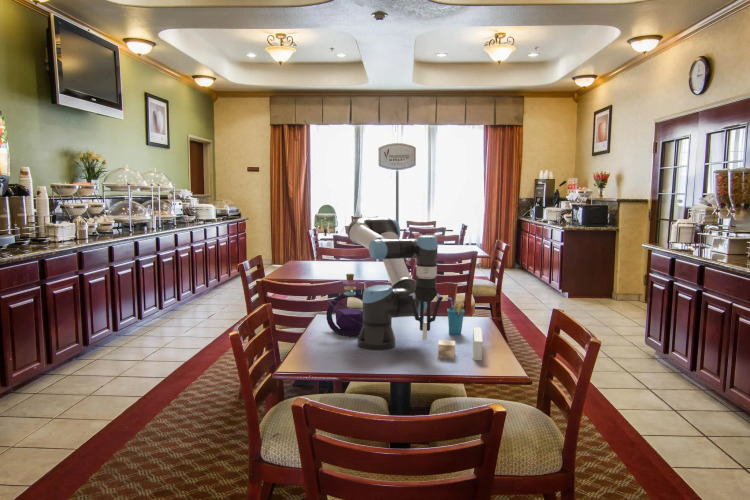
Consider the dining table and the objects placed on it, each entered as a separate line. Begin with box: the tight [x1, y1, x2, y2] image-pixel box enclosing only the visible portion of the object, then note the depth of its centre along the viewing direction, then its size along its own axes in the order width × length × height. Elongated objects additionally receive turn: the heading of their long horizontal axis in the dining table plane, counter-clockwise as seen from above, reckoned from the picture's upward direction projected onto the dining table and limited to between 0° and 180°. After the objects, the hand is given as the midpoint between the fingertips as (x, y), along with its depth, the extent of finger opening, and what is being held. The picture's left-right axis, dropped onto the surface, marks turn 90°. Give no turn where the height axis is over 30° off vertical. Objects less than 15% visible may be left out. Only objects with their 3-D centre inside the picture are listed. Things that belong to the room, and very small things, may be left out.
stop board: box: [472, 326, 484, 361], centre depth 196 cm, size 3×20×7 cm, turn 170°
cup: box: [446, 297, 466, 336], centre depth 220 cm, size 14×8×15 cm, turn 22°
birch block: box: [437, 339, 456, 359], centre depth 191 cm, size 6×6×5 cm
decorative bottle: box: [326, 273, 363, 337], centre depth 221 cm, size 22×21×25 cm
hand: (424, 338), depth 192 cm, fingers closed
